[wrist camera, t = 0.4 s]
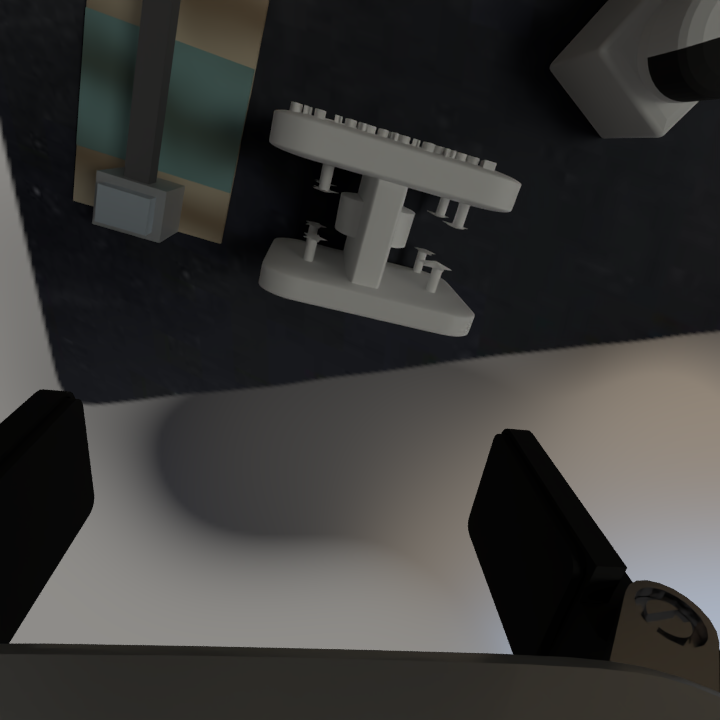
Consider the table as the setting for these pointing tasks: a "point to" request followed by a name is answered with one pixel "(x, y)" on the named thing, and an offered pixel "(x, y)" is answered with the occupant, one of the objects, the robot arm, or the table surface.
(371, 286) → the cable organizer
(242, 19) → the board
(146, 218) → the connector
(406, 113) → the table surface
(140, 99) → the dark grey bar
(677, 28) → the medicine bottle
